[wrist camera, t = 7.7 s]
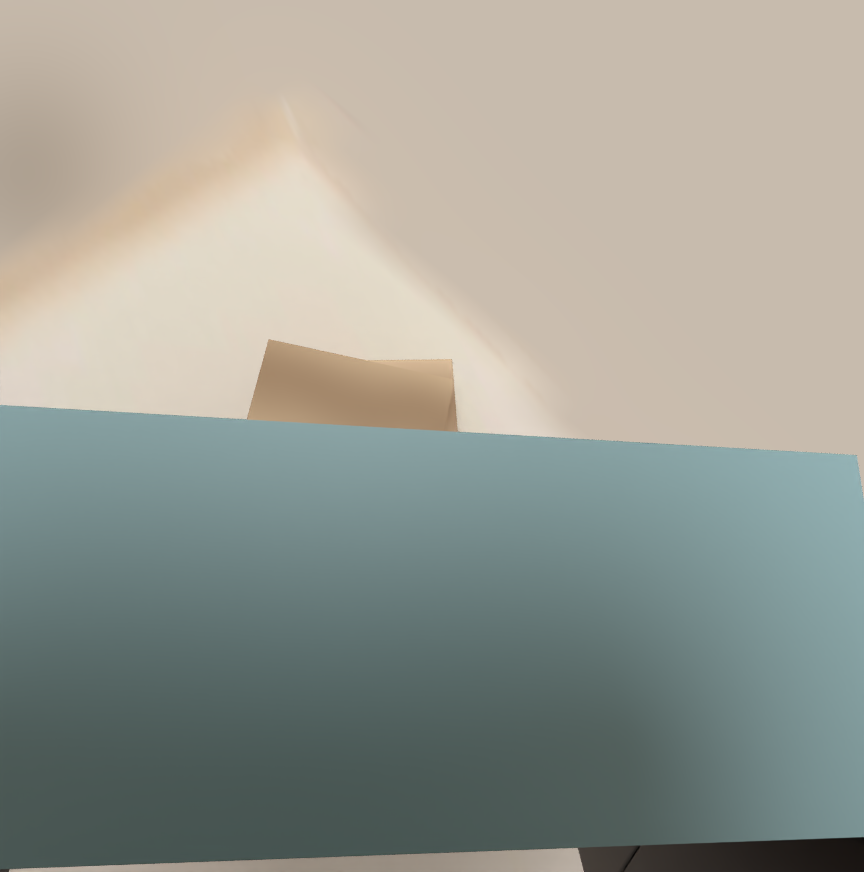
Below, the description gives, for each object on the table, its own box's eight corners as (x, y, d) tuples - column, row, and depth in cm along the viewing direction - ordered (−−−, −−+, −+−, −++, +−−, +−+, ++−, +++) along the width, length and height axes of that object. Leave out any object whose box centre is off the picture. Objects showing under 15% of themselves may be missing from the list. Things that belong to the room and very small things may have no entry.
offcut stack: (443, 518, 23) (471, 502, 17) (264, 509, 22) (231, 489, 16) (447, 393, 24) (475, 341, 18) (278, 380, 23) (252, 320, 17)
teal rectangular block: (445, 609, 16) (917, 837, 3) (232, 605, 15) (-692, 895, 2) (446, 546, 16) (856, 456, 3) (239, 540, 16) (-463, 379, 2)
